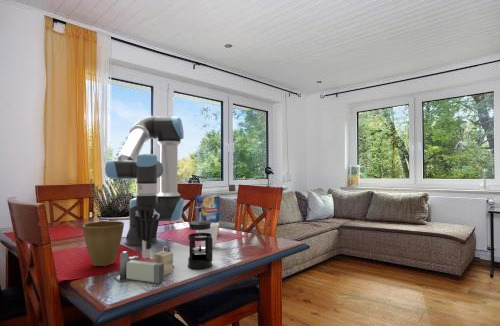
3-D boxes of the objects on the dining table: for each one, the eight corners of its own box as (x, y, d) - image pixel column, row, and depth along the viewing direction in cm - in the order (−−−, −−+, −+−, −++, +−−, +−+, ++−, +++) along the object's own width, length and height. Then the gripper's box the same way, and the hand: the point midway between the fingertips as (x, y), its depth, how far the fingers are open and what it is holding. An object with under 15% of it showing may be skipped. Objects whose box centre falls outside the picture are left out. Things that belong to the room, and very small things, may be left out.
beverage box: (219, 234, 177) (219, 195, 178) (203, 237, 170) (203, 197, 170) (212, 232, 182) (212, 195, 183) (196, 235, 175) (196, 196, 175)
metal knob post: (120, 282, 104) (120, 255, 104) (112, 278, 108) (112, 252, 108) (144, 276, 110) (144, 250, 110) (136, 272, 114) (136, 247, 114)
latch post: (164, 269, 117) (164, 248, 117) (159, 267, 119) (159, 246, 119) (174, 267, 119) (174, 246, 120) (168, 265, 122) (168, 244, 122)
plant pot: (121, 268, 119) (122, 226, 119) (78, 271, 114) (78, 228, 115) (125, 257, 133) (125, 219, 133) (87, 260, 129) (87, 221, 129)
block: (152, 273, 113) (152, 254, 113) (162, 269, 117) (162, 250, 117) (163, 275, 110) (163, 256, 110) (172, 271, 115) (172, 252, 115)
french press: (181, 265, 121) (181, 206, 122) (200, 260, 128) (200, 204, 129) (200, 272, 113) (200, 209, 114) (220, 266, 120) (220, 207, 121)
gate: (126, 278, 105) (126, 261, 105) (131, 276, 108) (131, 259, 108) (159, 283, 101) (159, 265, 101) (163, 280, 104) (163, 263, 104)
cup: (215, 250, 143) (215, 226, 144) (195, 249, 145) (195, 225, 146) (221, 245, 153) (221, 222, 153) (202, 244, 155) (202, 222, 155)
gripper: (126, 194, 118) (126, 257, 118) (151, 196, 112) (151, 262, 111) (142, 193, 125) (141, 252, 124) (166, 194, 119) (166, 257, 118)
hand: (146, 257), depth 118 cm, fingers closed
